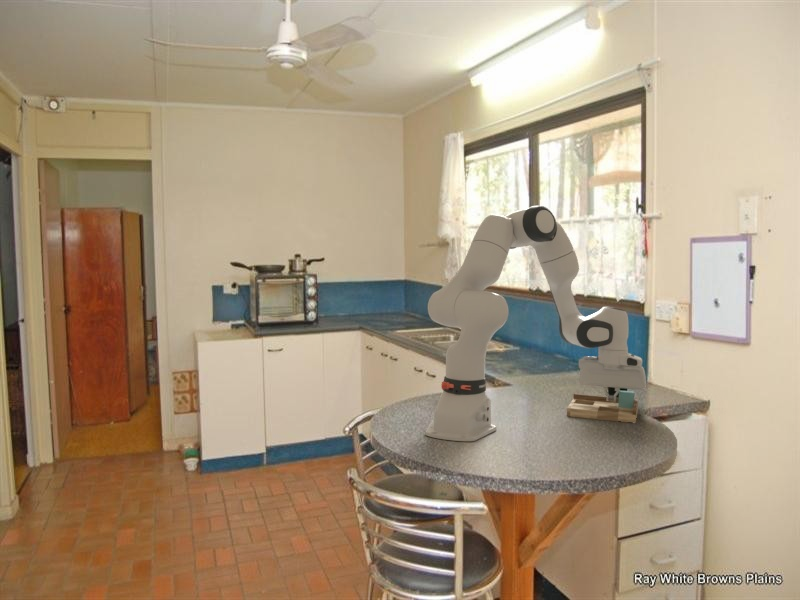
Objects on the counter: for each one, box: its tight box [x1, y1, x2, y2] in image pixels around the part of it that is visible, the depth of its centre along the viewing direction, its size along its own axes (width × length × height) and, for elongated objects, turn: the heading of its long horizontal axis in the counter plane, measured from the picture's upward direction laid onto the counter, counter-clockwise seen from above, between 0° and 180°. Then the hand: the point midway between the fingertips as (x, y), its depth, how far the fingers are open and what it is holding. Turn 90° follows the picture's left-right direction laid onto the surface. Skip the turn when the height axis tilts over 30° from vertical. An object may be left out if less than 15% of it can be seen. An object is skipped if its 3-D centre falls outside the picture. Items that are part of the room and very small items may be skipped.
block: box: [618, 390, 636, 409], centre depth 197 cm, size 4×4×4 cm
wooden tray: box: [566, 393, 639, 424], centre depth 197 cm, size 16×20×4 cm
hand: (611, 401), depth 199 cm, fingers closed
